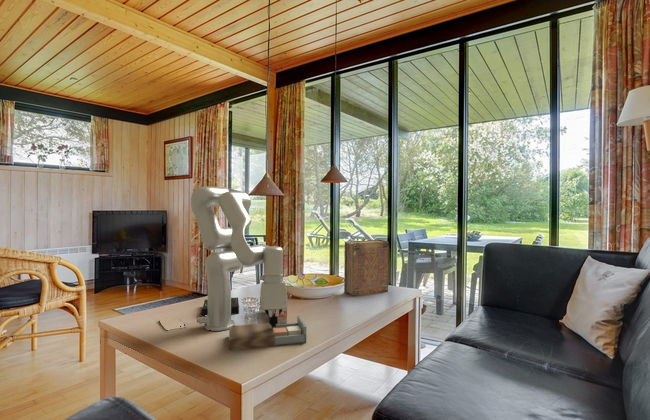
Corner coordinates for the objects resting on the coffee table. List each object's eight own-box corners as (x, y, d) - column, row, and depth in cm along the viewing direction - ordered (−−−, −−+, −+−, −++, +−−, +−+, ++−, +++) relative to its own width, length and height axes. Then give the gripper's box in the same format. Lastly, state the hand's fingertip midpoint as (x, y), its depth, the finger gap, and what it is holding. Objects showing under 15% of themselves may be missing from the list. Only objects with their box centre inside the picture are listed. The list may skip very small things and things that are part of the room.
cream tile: (301, 329, 138) (301, 337, 138) (298, 325, 143) (298, 333, 143) (288, 331, 137) (288, 338, 137) (286, 326, 142) (286, 334, 142)
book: (352, 296, 201) (352, 243, 200) (344, 293, 209) (344, 241, 209) (388, 291, 213) (388, 241, 213) (378, 288, 221) (379, 239, 221)
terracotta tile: (273, 340, 135) (273, 332, 135) (273, 335, 140) (273, 328, 140) (286, 339, 136) (286, 331, 136) (285, 334, 141) (285, 327, 141)
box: (274, 345, 131) (274, 329, 131) (270, 332, 145) (270, 317, 145) (306, 342, 134) (306, 326, 134) (299, 329, 148) (299, 315, 148)
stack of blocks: (287, 323, 156) (287, 295, 156) (272, 324, 154) (272, 296, 154) (280, 309, 177) (280, 284, 176) (267, 310, 175) (267, 285, 175)
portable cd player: (203, 307, 181) (203, 299, 181) (238, 305, 185) (238, 297, 185) (201, 317, 165) (200, 309, 165) (238, 314, 170) (238, 306, 169)
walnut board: (229, 350, 127) (229, 339, 127) (229, 336, 141) (229, 326, 141) (274, 345, 131) (274, 335, 131) (270, 332, 145) (270, 322, 145)
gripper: (254, 281, 132) (254, 331, 133) (294, 279, 136) (294, 327, 136) (253, 277, 139) (253, 324, 140) (290, 275, 143) (290, 321, 144)
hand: (273, 325), depth 138 cm, fingers closed
